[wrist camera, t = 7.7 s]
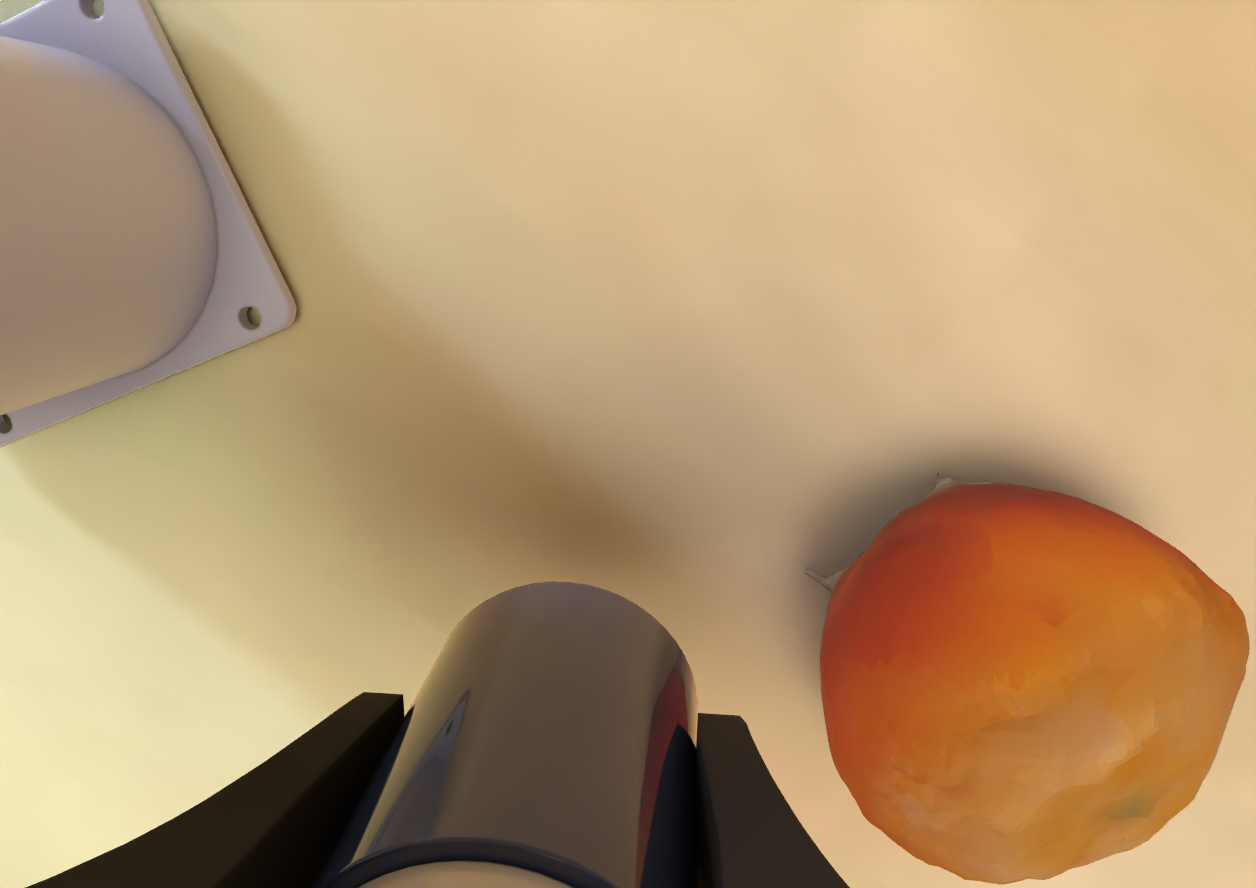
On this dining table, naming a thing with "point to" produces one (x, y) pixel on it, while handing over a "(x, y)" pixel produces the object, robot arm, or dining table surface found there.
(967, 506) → the fruit
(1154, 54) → the dining table surface
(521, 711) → the salt shaker
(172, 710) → the dining table surface
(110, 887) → the robot arm
